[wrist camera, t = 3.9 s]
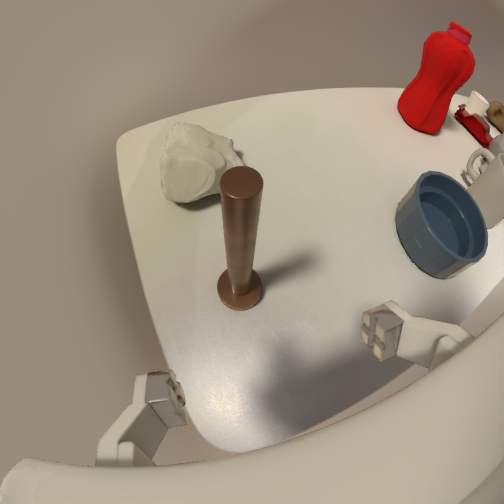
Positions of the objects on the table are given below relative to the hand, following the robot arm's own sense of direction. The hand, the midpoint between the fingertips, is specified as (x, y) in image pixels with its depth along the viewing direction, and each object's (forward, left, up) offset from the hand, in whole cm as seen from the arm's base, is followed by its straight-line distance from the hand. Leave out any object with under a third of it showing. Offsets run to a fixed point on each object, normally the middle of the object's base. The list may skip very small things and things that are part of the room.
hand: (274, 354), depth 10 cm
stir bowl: (+11, -26, -16) cm, 33 cm away
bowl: (+47, -86, -16) cm, 100 cm away
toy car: (+38, -61, -16) cm, 74 cm away
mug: (+17, -42, -16) cm, 49 cm away
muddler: (+7, +1, -16) cm, 18 cm away
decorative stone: (+22, +4, -16) cm, 28 cm away
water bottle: (+37, -39, -16) cm, 57 cm away
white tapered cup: (+49, -71, -16) cm, 88 cm away
